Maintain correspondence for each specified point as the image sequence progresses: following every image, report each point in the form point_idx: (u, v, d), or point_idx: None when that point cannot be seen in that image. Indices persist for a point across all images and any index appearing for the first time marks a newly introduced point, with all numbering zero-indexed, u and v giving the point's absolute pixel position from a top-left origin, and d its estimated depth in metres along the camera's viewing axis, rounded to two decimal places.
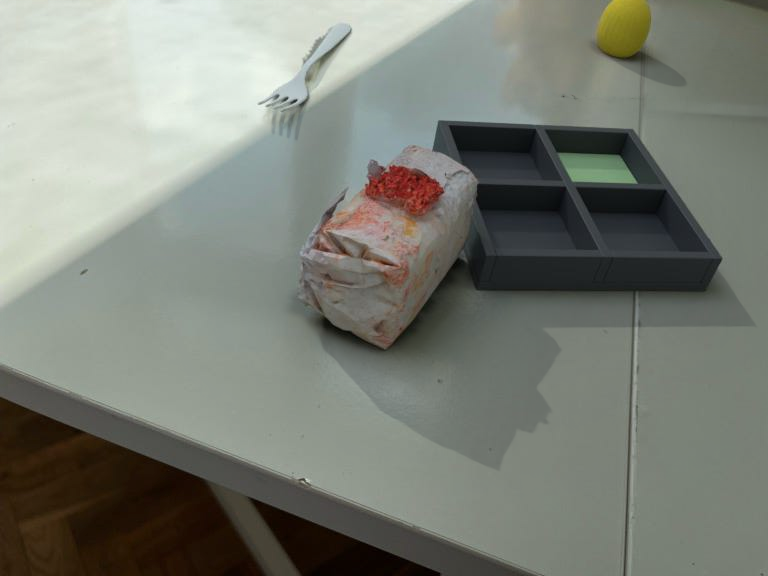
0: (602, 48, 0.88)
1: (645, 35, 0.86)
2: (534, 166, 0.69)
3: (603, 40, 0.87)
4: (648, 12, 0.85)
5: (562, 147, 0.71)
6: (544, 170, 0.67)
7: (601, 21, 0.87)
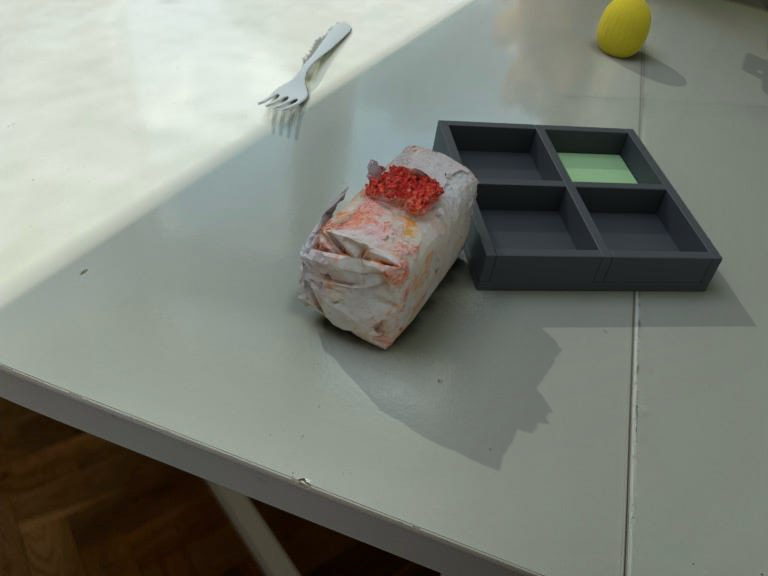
0: (602, 48, 0.88)
1: (645, 35, 0.86)
2: (534, 166, 0.69)
3: (603, 40, 0.87)
4: (648, 12, 0.85)
5: (562, 147, 0.71)
6: (544, 170, 0.67)
7: (601, 21, 0.87)
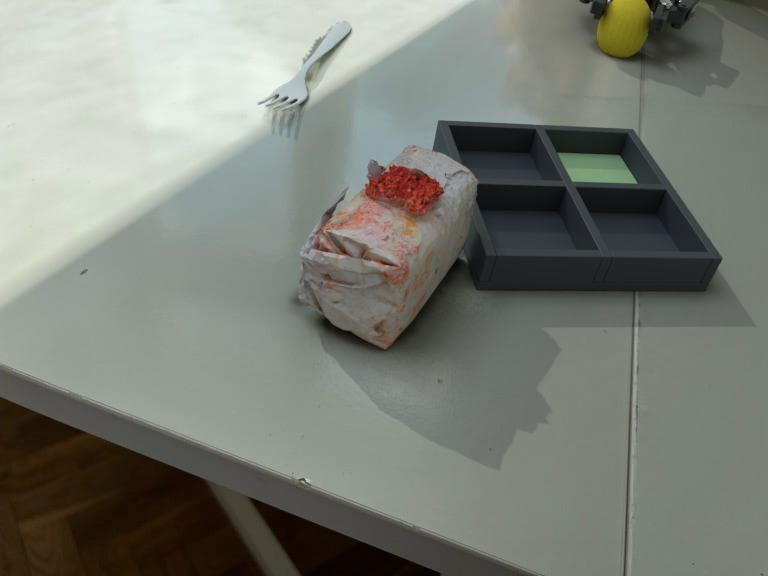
0: (602, 48, 0.88)
1: (645, 35, 0.86)
2: (534, 166, 0.69)
3: (603, 40, 0.87)
4: (648, 12, 0.85)
5: (562, 147, 0.71)
6: (544, 170, 0.67)
7: (601, 21, 0.87)
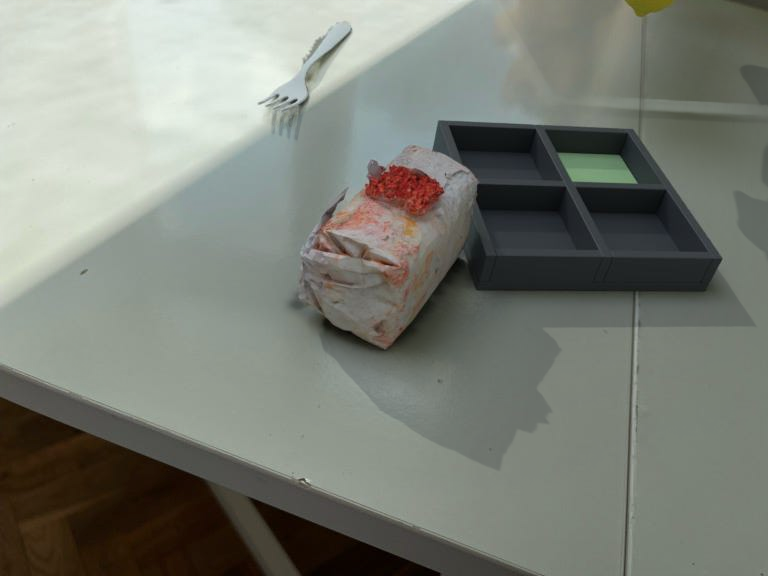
0: None
1: None
2: (534, 166, 0.69)
3: None
4: None
5: (562, 147, 0.71)
6: (544, 170, 0.67)
7: None
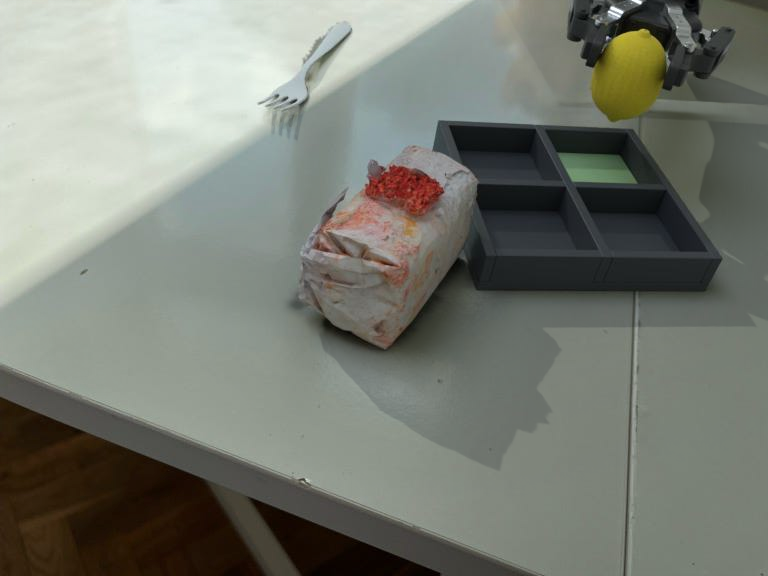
0: (598, 105, 0.63)
1: (658, 89, 0.61)
2: (534, 166, 0.69)
3: (599, 95, 0.62)
4: (663, 57, 0.60)
5: (562, 147, 0.71)
6: (544, 170, 0.67)
7: (596, 69, 0.62)
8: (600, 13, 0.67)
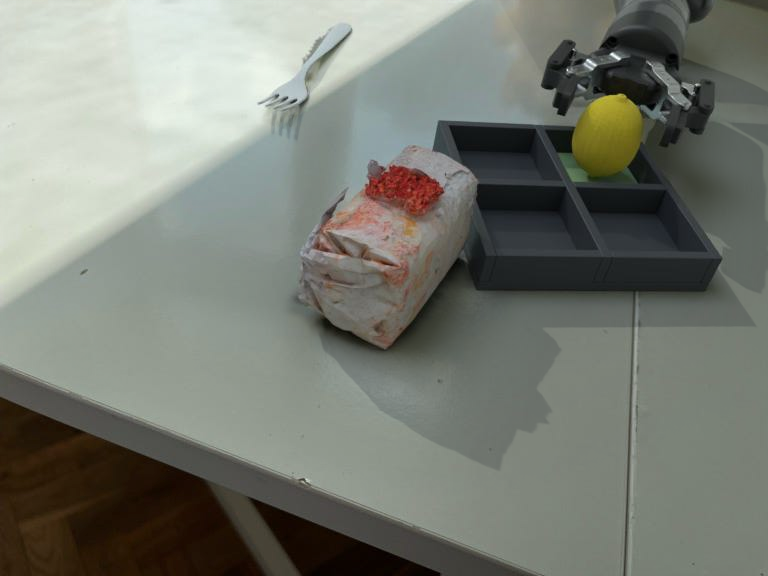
0: (578, 163, 0.67)
1: (635, 149, 0.65)
2: (534, 166, 0.69)
3: (579, 154, 0.66)
4: (639, 121, 0.64)
5: (562, 147, 0.71)
6: (544, 170, 0.67)
7: (577, 129, 0.66)
8: None
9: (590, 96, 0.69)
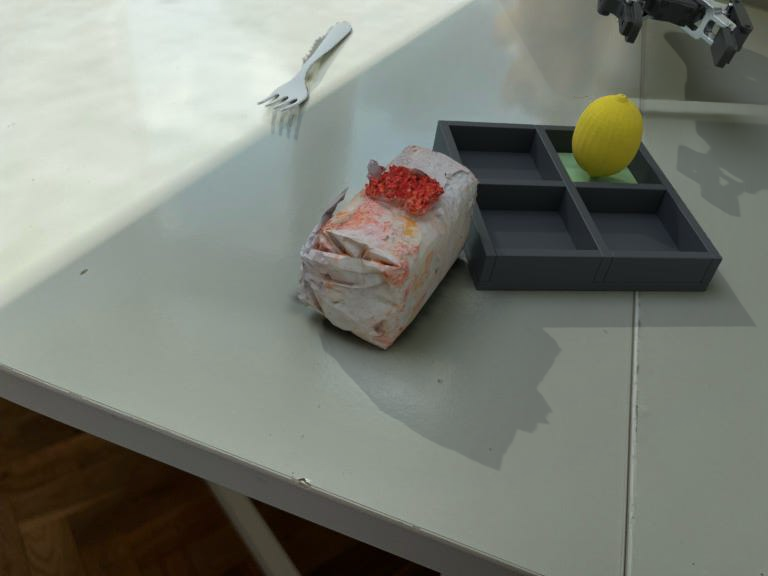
0: (578, 163, 0.67)
1: (635, 149, 0.65)
2: (534, 166, 0.69)
3: (579, 154, 0.66)
4: (639, 121, 0.64)
5: (562, 147, 0.71)
6: (544, 170, 0.67)
7: (577, 129, 0.66)
8: None
9: None
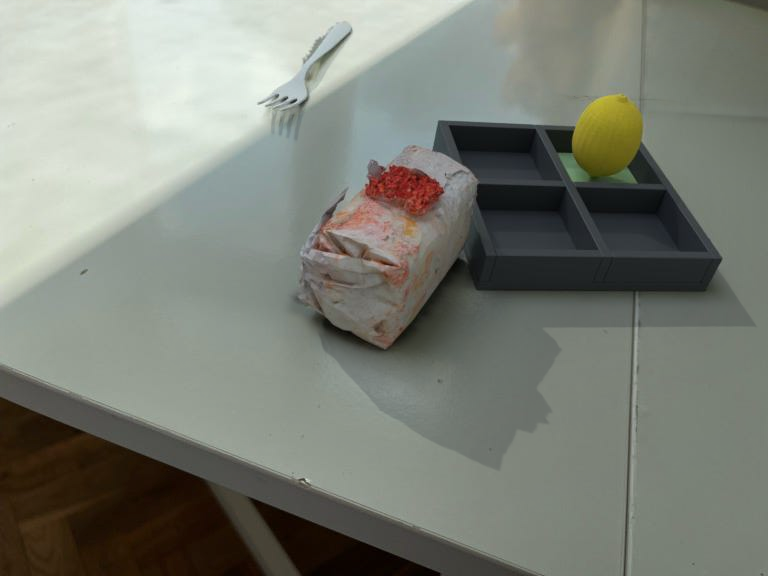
0: (578, 163, 0.67)
1: (635, 149, 0.65)
2: (534, 166, 0.69)
3: (579, 154, 0.66)
4: (639, 121, 0.64)
5: (562, 147, 0.71)
6: (544, 170, 0.67)
7: (577, 129, 0.66)
8: None
9: None
